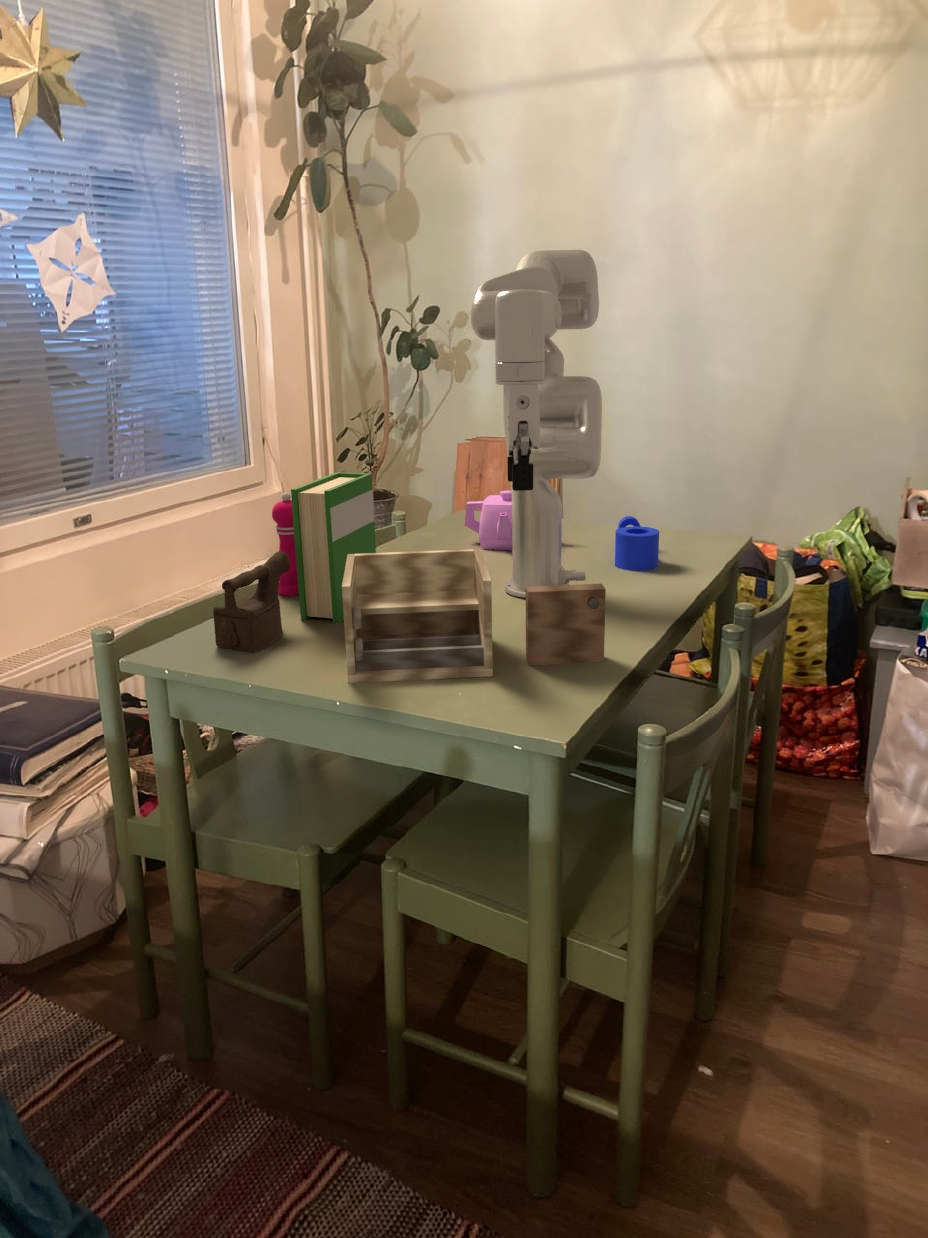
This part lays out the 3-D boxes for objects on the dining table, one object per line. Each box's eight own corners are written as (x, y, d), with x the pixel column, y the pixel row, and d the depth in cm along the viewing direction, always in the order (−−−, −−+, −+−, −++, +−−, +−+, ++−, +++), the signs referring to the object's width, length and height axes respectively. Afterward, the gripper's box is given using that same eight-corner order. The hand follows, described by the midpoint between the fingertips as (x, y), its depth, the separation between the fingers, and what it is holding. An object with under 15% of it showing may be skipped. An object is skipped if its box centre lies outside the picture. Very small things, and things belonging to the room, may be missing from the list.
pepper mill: (277, 587, 198) (268, 489, 192) (313, 585, 199) (306, 488, 193) (273, 597, 192) (264, 496, 185) (310, 595, 192) (303, 495, 186)
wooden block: (600, 655, 157) (601, 583, 153) (605, 664, 153) (607, 591, 149) (525, 658, 156) (525, 586, 153) (529, 668, 152) (529, 594, 149)
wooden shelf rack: (481, 635, 168) (480, 548, 163) (492, 676, 149) (491, 580, 145) (353, 640, 166) (347, 554, 162) (347, 682, 148) (341, 586, 143)
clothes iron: (307, 626, 174) (301, 553, 170) (251, 655, 161) (244, 576, 157) (270, 621, 178) (264, 549, 174) (213, 648, 164) (205, 571, 160)
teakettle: (511, 531, 241) (510, 481, 237) (558, 543, 228) (559, 491, 224) (456, 543, 231) (455, 491, 227) (503, 556, 218) (502, 501, 215)
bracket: (660, 571, 204) (662, 535, 202) (616, 572, 205) (617, 536, 202) (648, 548, 223) (649, 515, 220) (608, 549, 223) (609, 516, 221)
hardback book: (337, 623, 175) (329, 491, 168) (301, 620, 178) (290, 489, 170) (378, 595, 191) (371, 473, 184) (344, 593, 194) (336, 472, 186)
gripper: (550, 376, 142) (550, 493, 147) (538, 371, 159) (537, 477, 163) (499, 377, 142) (500, 494, 147) (492, 372, 159) (493, 478, 163)
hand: (520, 485), depth 155 cm, fingers open, 9 cm apart
